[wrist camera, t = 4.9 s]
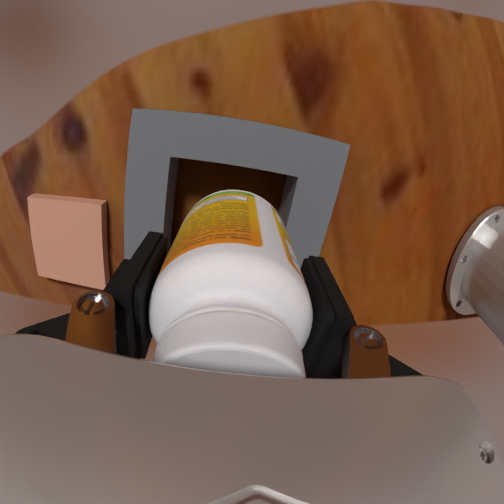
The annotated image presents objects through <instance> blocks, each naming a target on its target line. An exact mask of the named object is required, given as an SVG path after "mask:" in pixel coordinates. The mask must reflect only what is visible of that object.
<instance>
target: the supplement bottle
mask: <svg viewBox="0 0 504 504" xmlns="http://www.w3.org/2000/svg"><path fill="white" fill-rule="evenodd" d="M148 319H149V326H150V331H151V333H152V336H153V338H154V340H155V342H156V344H157V347H156V351H155V355H154V359H153V362H158V363H163V364H169V365H175V366H182V367H188V368H195V369H202V370H210V371H218V372H227V373H237V374H248V375H260V376H275V377H296V378H306V373H305V368H304V362H303V355H302V349H303V348H304V346H305V344H306V342H307V340H308V337H309V335H310V332H311V328H312V322H313V310H312V304H311V300H310V296H309V292H308V289H307V286H306V283H305V281H304V278H303V275H302V272H301V270H300V267H299V264H298V261H297V258H296V256H295V253H294V250H293V248H292V245H291V242H290V239H289V237H288V234H287V231H286V229H285V226H284V224H283V221H282V220H281V218H280V216H279V214H278V213H277V211H276V210H275V209H274V207H273V206H272V205H271V204H270V203H268V202H267V201H266V200H265V199H263V198H262V197H260V196H258V195H256V194H254V193H251V192H247V191H243V190H223V191H218V192H215V193H212V194H210V195H208V196H206V197H204V198H203V199H201V200H200V201H199V202H198V203H196V204H195V205H194V207H193V208H192V209H191V210H190V212H189V213H188V214H187V216H186V218H185V219H184V221H183V223H182V225H181V227H180V230H179V232H178V234H177V236H176V238H175V240H174V242H173V244H172V246H171V248H170V250H169V252H168V254H167V256H166V258H165V260H164V263H163V265H162V267H161V270H160V272H159V274H158V277H157V279H156V281H155V284H154V286H153V290H152V293H151V296H150V300H149V305H148Z"/></svg>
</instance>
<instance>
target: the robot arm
mask: <svg viewBox="0 0 504 504" xmlns="http://www.w3.org/2000/svg"><path fill="white" fill-rule="evenodd" d="M167 244H168V238H167V237H163V233H159V232H152V231H149V232H148V234H147V235H146V237H145V238H144V240H143V241H142V242H141V244H140V245H139V247H138V248H137V250H136V251H135V253H134V254H133V256H132V257H131V259H124V260H123V261H122V263H121V264H120V266H119V267H118V268H117V270H116V271H115V273H114V274H113V276H112V277H111V279H110V280H109V282H108V283H107V285H106V287H105V288H104V290H103V291H101V290H89V291H86V292H83V293H81V294H79V295H77V297H76V298H75V299H74V300H73V302H72V306H71V311H70V313H68V314H65V315H62V316H59V317H57V318H53V319H50V320H47V321H44V322H41V323H38V324H35V325H32V326H29V327H26V328H23V329H21V330H19V331H18V332H16V333H15V334H6V335H1V336H0V504H504V461H503V459H502V456H501V454H500V452H499V449H498V447H497V444H496V442H495V440H494V438H493V436H492V434H491V431H490V429H489V428H488V425H487V423H486V421H485V420H484V418H483V416H482V414H481V412H480V410H479V409H478V407H477V405H476V404H475V402H474V401H473V399H472V398H471V396H470V395H469V394H468V392H467V391H466V390H465V389H464V388H463V387H462V386H460V385H459V384H457V383H455V382H453V381H450V380H447V379H443V378H439V377H433V376H423V375H422V374H420V373H419V372H417V371H415V370H413V369H412V368H410V367H408V366H407V365H405V364H404V363H402V362H400V361H398V360H397V359H395V358H394V357H392V356H390V355H388V349H387V342H386V339H385V338H384V336H383V335H382V334H381V333H380V332H379V331H378V330H376V329H374V328H372V327H370V326H366V325H357V324H356V322H355V320H354V317H353V315H352V313H351V311H350V309H349V307H348V305H347V303H346V301H345V299H344V297H343V295H342V293H341V291H340V289H339V287H338V285H337V283H336V281H335V279H334V277H333V275H332V273H331V271H330V269H329V267H328V266H327V264H326V262H325V260H324V258H323V257H317V256H309V257H308V259H307V258H305V259H304V260H303V263H302V266H301V269H300V270H301V272H302V275H303V278H304V281H305V283H306V286H307V289H308V292H309V296H310V300H311V304H312V310H313V322H312V328H311V332H310V335H309V337H308V340H307V342H306V344H305V346H304V348H303V349H302V355H303V362H304V368H305V373H306V378H296V377H275V376H260V375H248V374H237V373H227V372H218V371H210V370H202V369H195V368H188V367H182V366H175V365H169V364H163V363H158V362H152V361H147V360H142V359H145V357H146V354H147V351H148V348H149V345H150V342H151V338H152V333H151V331H150V326H149V319H148V305H149V300H150V296H151V293H152V290H153V286H154V284H155V281H156V279H157V277H158V274H159V272H160V270H161V267H162V265H163V263H164V260H165V258H166V256H167ZM446 296H447V299H448V302H449V304H450V305H451V306H452V308H453V309H454V310H455V311H456V312H457V313H459V314H462V315H470V314H474V313H477V314H478V315H479V316H480V318H481V319H482V320H483V321H484V322H485V323H486V325H488V327H489V328H490V329H491V330H492V332H493V333H494V334H495V335H496V337H497V338H498V339H499V340H500V342H501V343H502V344H503V345H504V206H497V207H493V208H491V209H489V210H487V211H485V212H484V213H483V214H482V215H480V216H479V217H478V218H477V219H476V220H475V221H474V222H473V224H472V225H471V226H470V227H469V229H468V230H467V231H466V233H465V234H464V236H463V238H462V239H461V241H460V243H459V244H458V246H457V249H456V251H455V253H454V255H453V257H452V260H451V263H450V266H449V270H448V274H447V279H446ZM140 358H142V359H140Z"/></svg>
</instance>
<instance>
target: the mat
mask: <svg viewBox="0 0 504 504" xmlns="http://www.w3.org/2000/svg"><path fill="white" fill-rule="evenodd" d="M27 198H28V210H29V220H30V228H31V236H32V243H33V249H34V255H35V260H36V266H37V271H38V275H39V276H42V277H47V278H51V279H55V280H60V281H64V282H68V283H73V284H78V285H82V286H87V287H92V288H97V289H102V290H104V288H105V287H106V285H107V283H108V282H109V280H110V274H109V260H108V241H107V200H99V199H89V198H80V197H70V196H59V195H49V194H37V193H34V194H32V195H30V196H29V197H27Z"/></svg>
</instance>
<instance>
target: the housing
mask: <svg viewBox="0 0 504 504" xmlns="http://www.w3.org/2000/svg"><path fill="white" fill-rule="evenodd" d="M349 148H350V145H349V144H346V143H343V142H339V141H336V140H333V139H329V138H325V137H321V136H318V135H314V134H310V133H306V132H301V131H297V130H293V129H288V128H284V127H279V126H274V125H269V124H264V123H259V122H254V121H248V120H242V119H236V118H230V117H223V116H216V115H208V114H200V113H191V112H181V111H170V110H157V109H133V110H132V117H131V125H130V134H129V143H128V153H127V166H126V181H125V204H124V258H125V259H131V257H132V256H133V254H134V253H135V251H136V250H137V248H138V247H139V245H140V244H141V242H142V241H143V240H144V238H145V237H146V235H147V234H148V232H149V231H152V232H159V233H163V237H167V238H168V244H167V254H168V252H169V250H170V248H171V235H172V222H173V211H174V200H175V191H176V182H177V173H178V165H179V158H185V159H193V160H201V161H208V162H215V163H222V164H229V165H235V166H241V167H247V168H253V169H259V170H264V171H270V172H275V173H280V174H285V175H287V177H286V181H285V186H284V190H283V194H282V199H281V203H280V207H279V212H278V214H279V216H280V218H281V220H282V221H283V224H284V226H285V229H286V231H287V234H288V237H289V239H290V242H291V245H292V248H293V250H294V253H295V256H296V258H297V261H298V264H299V267H300V269H301V266H302V263H303V260H304V259H305V258H307V259H308V257H309V256H317V257H319V254H320V251H321V248H322V245H323V241H324V238H325V235H326V232H327V228H328V225H329V222H330V218H331V215H332V211H333V208H334V205H335V201H336V198H337V194H338V190H339V187H340V183H341V179H342V176H343V172H344V168H345V164H346V160H347V156H348V152H349Z"/></svg>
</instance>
